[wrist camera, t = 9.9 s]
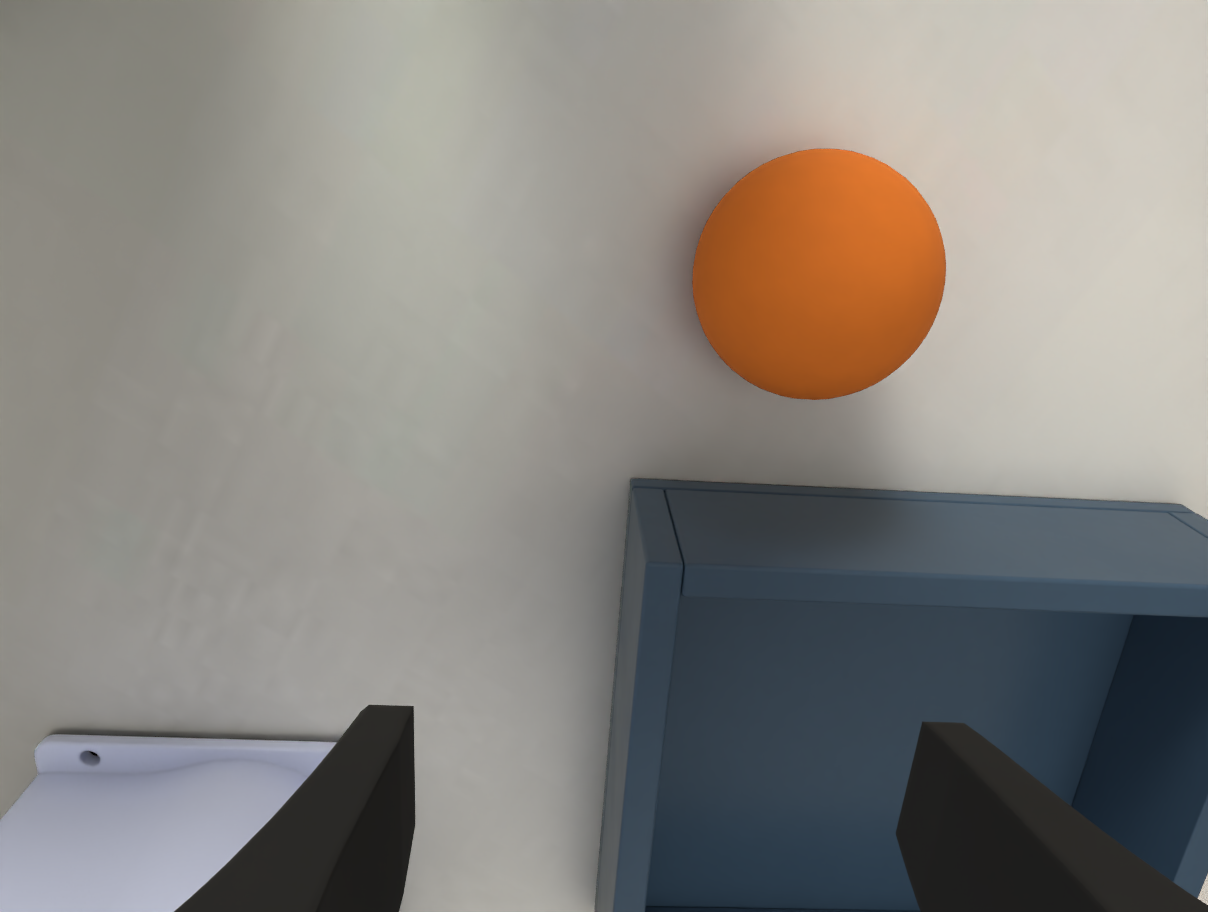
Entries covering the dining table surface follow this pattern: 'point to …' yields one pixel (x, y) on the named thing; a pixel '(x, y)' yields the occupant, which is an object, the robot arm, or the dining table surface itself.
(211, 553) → the dining table surface
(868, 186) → the ball
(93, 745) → the robot arm
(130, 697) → the dining table surface
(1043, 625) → the tray
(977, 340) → the dining table surface
